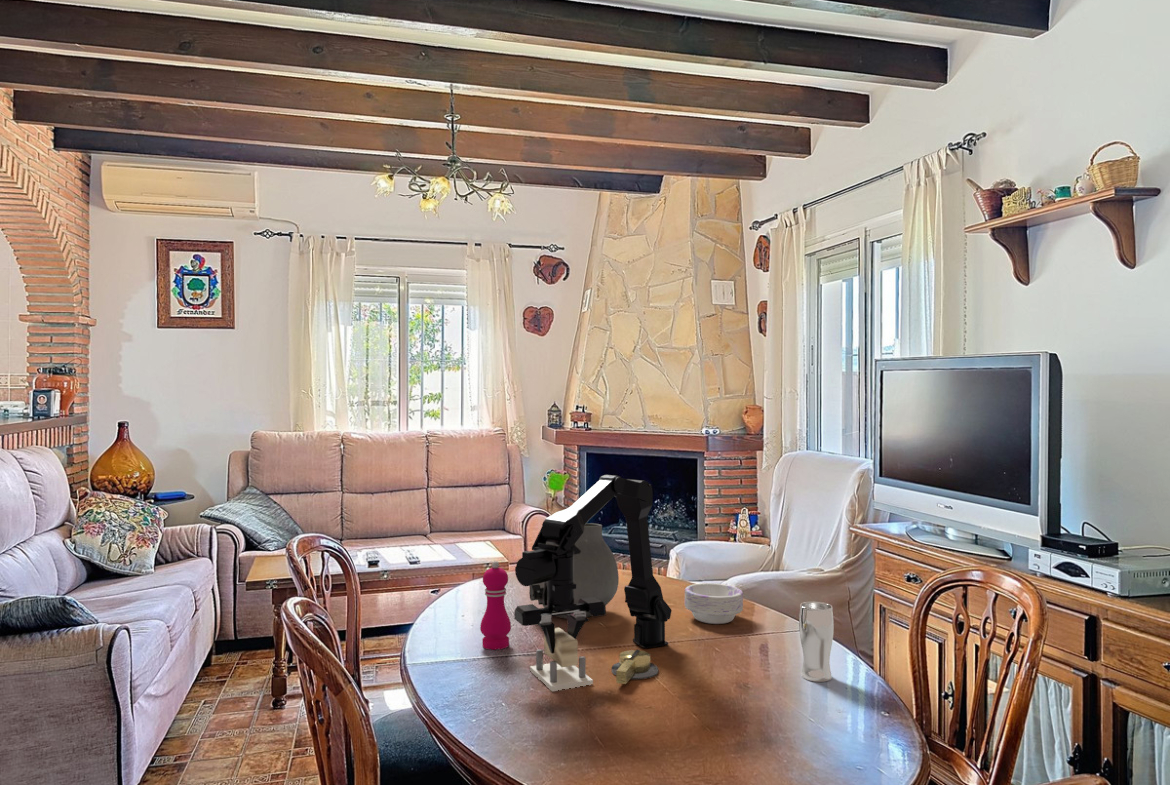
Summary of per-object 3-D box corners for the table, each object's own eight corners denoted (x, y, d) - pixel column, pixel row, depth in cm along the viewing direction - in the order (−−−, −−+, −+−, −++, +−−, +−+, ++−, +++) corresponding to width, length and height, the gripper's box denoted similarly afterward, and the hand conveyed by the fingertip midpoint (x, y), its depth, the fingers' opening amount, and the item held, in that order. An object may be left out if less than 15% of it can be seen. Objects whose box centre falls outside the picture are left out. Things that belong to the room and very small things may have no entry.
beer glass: (834, 673, 169) (834, 602, 169) (833, 684, 162) (833, 611, 162) (800, 669, 171) (800, 600, 171) (798, 680, 164) (797, 608, 164)
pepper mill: (505, 651, 184) (505, 565, 184) (476, 649, 185) (475, 563, 185) (514, 641, 191) (514, 558, 191) (486, 640, 192) (485, 557, 192)
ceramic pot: (635, 611, 217) (635, 519, 217) (588, 634, 197) (587, 533, 197) (561, 598, 230) (561, 512, 230) (510, 619, 210) (509, 524, 210)
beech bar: (577, 664, 163) (577, 640, 163) (561, 667, 162) (561, 642, 162) (559, 650, 172) (559, 627, 172) (544, 652, 171) (544, 629, 171)
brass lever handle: (624, 660, 175) (624, 647, 175) (653, 663, 172) (653, 650, 172) (605, 681, 162) (605, 667, 162) (636, 685, 160) (636, 671, 160)
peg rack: (529, 670, 171) (529, 647, 171) (568, 664, 174) (568, 642, 174) (552, 691, 159) (551, 666, 159) (592, 684, 163) (592, 660, 163)
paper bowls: (755, 621, 207) (755, 590, 207) (712, 631, 199) (712, 599, 199) (714, 608, 220) (714, 579, 220) (672, 617, 211) (672, 587, 211)
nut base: (644, 660, 177) (644, 657, 177) (666, 675, 168) (666, 672, 168) (603, 667, 173) (603, 664, 173) (624, 682, 164) (624, 679, 164)
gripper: (585, 565, 178) (585, 635, 178) (505, 573, 170) (506, 646, 170) (606, 576, 168) (607, 649, 168) (523, 585, 160) (523, 662, 160)
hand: (560, 651), depth 167 cm, fingers closed on beech bar, 3 cm apart
